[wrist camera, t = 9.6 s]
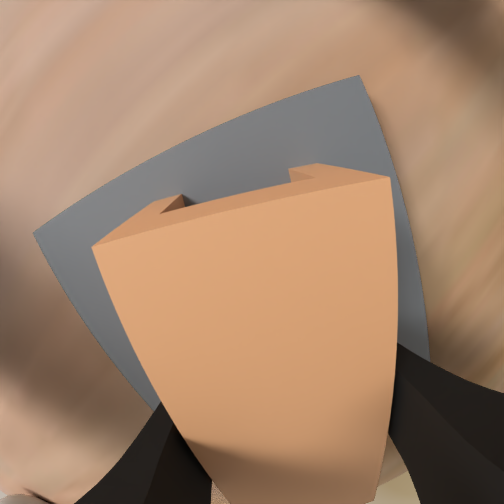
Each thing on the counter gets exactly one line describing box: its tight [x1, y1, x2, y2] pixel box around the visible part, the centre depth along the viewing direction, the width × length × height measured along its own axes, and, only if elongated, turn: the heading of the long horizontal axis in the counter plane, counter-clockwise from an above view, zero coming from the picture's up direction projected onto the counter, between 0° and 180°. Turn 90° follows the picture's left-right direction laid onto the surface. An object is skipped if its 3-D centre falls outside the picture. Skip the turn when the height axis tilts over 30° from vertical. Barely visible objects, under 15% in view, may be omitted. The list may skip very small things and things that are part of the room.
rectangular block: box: [92, 163, 398, 504], centre depth 9 cm, size 12×5×4 cm, turn 12°
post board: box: [33, 75, 430, 411], centre depth 10 cm, size 15×12×4 cm
